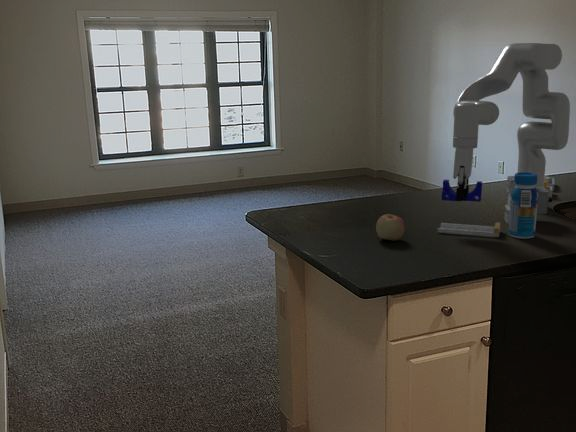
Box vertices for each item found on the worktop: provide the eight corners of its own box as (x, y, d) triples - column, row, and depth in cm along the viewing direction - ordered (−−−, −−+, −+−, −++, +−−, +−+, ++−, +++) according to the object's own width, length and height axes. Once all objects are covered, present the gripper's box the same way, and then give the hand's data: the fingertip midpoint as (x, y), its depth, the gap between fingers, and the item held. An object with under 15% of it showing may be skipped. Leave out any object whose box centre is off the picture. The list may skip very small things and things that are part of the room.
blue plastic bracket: (441, 200, 206) (442, 182, 204) (443, 197, 210) (444, 179, 208) (479, 202, 202) (481, 184, 200) (481, 199, 206) (482, 181, 204)
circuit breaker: (551, 224, 215) (554, 180, 211) (506, 223, 217) (509, 180, 214) (547, 218, 222) (550, 176, 218) (504, 217, 224) (506, 175, 221)
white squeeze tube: (440, 227, 214) (441, 218, 214) (500, 231, 208) (500, 222, 207) (437, 233, 208) (437, 224, 207) (498, 237, 201) (499, 228, 200)
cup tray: (517, 182, 280) (518, 175, 279) (553, 184, 275) (554, 177, 274) (516, 189, 267) (516, 182, 266) (554, 191, 262) (554, 184, 261)
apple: (382, 235, 207) (382, 211, 205) (408, 238, 203) (408, 214, 201) (371, 242, 200) (372, 217, 198) (398, 245, 195) (399, 220, 193)
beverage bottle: (502, 235, 204) (506, 173, 198) (517, 230, 208) (521, 170, 203) (525, 241, 197) (530, 177, 192) (541, 235, 202) (546, 174, 197)
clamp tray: (508, 191, 264) (508, 184, 263) (551, 193, 258) (552, 186, 257) (507, 195, 256) (507, 188, 256) (551, 198, 250) (552, 190, 250)
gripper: (456, 138, 210) (453, 192, 215) (449, 145, 195) (446, 203, 199) (479, 139, 207) (476, 194, 212) (474, 146, 192) (471, 205, 197)
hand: (462, 198), depth 206 cm, fingers closed on blue plastic bracket, 4 cm apart
